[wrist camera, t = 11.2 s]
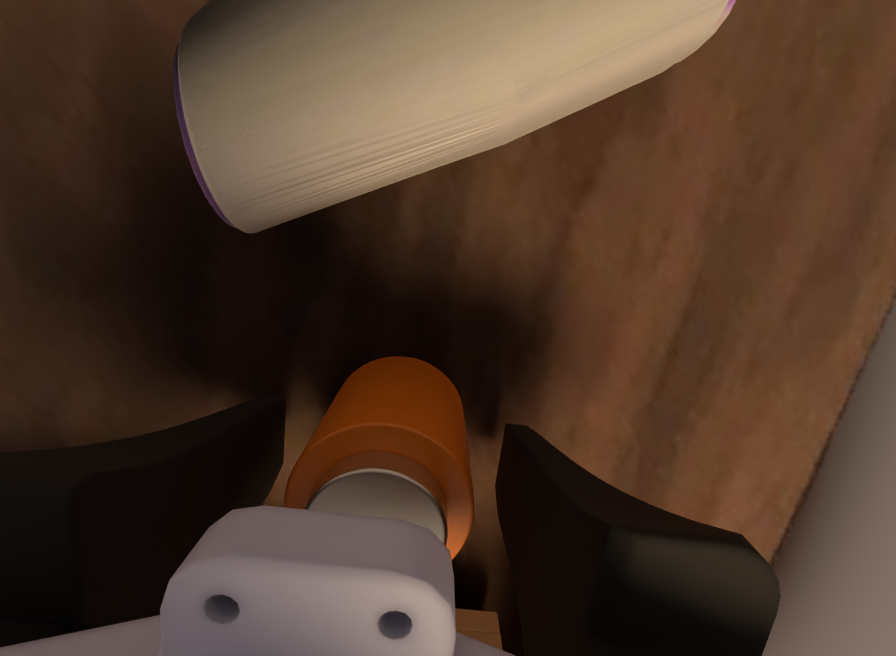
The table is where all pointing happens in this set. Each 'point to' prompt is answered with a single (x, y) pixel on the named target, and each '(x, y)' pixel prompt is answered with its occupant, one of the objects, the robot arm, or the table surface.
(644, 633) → the robot arm
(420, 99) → the infrared thermometer
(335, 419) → the orange cylinder
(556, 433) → the table surface
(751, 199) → the table surface
